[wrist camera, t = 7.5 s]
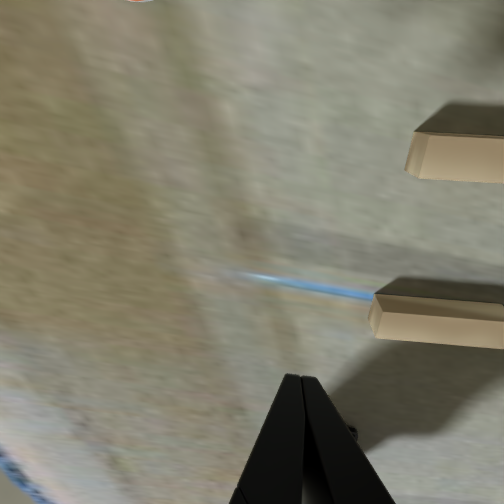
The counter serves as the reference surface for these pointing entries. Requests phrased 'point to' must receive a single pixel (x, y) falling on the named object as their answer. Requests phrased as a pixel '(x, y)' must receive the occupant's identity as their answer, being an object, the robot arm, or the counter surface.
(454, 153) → the slot rails
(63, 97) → the counter surface
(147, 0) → the pill bottle
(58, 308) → the counter surface
